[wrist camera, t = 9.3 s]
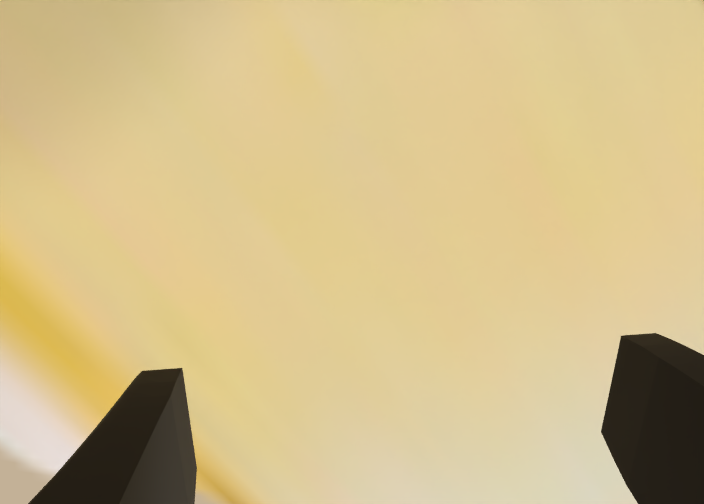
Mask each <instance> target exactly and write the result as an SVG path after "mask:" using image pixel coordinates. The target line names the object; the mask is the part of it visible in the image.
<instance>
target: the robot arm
mask: <svg viewBox="0 0 704 504" xmlns="http://www.w3.org/2000/svg"><path fill="white" fill-rule="evenodd" d="M601 432H602V435H603V437H604V439H605V441H606V443H607V446H608V448H609V450H610V452H611V454H612V457H613V459H614V461H615V463H616V465H617V467H618V469H619V471H620V473H621V475H622V477H623V479H624V481H625V483H626V485H627V487H628V488H629V490H630V491H631V493H632V495H633V496H634V498H635V499H636V501H637V502H638V504H704V355H702V354H700V353H698V352H696V351H694V350H692V349H690V348H688V347H686V346H684V345H682V344H680V343H678V342H675V341H673V340H671V339H669V338H666V337H664V336H661V335H659V334H656V333H652V334H639V335H625V336H621V340H620V345H619V349H618V354H617V359H616V364H615V368H614V373H613V378H612V383H611V387H610V392H609V397H608V402H607V406H606V411H605V416H604V420H603V425H602V430H601ZM196 472H197V467H196V460H195V453H194V446H193V439H192V432H191V425H190V418H189V411H188V405H187V398H186V391H185V384H184V377H183V370H182V368H177V369H163V370H149V371H142V372H141V373H140V374H139V375H138V376H137V377H136V378H135V379H134V380H133V382H132V383H131V384H130V385H129V387H128V388H127V389H126V390H125V392H124V393H123V394H122V396H121V397H120V398H119V399H118V401H117V402H116V403H115V404H114V406H113V407H112V408H111V409H110V411H109V412H108V413H107V414H106V416H105V417H104V418H103V419H102V421H101V422H100V423H99V424H98V426H97V427H96V428H95V429H94V430H93V432H92V433H91V434H90V435H89V436H88V438H87V439H86V440H85V441H84V442H83V443H82V445H81V446H80V447H79V448H78V449H77V450H76V452H75V453H74V454H73V455H72V456H71V457H70V459H69V460H68V461H67V462H66V463H65V464H64V466H63V467H62V468H61V469H60V470H59V471H58V472H57V473H56V475H55V476H54V477H53V478H52V479H51V480H50V481H49V482H48V483H47V484H46V486H44V487H43V489H42V490H41V491H40V492H39V493H38V494H37V495H36V496H35V497H34V498H33V499H32V500H31V501H30V502H29V503H28V504H194V501H195V486H196Z"/></svg>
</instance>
